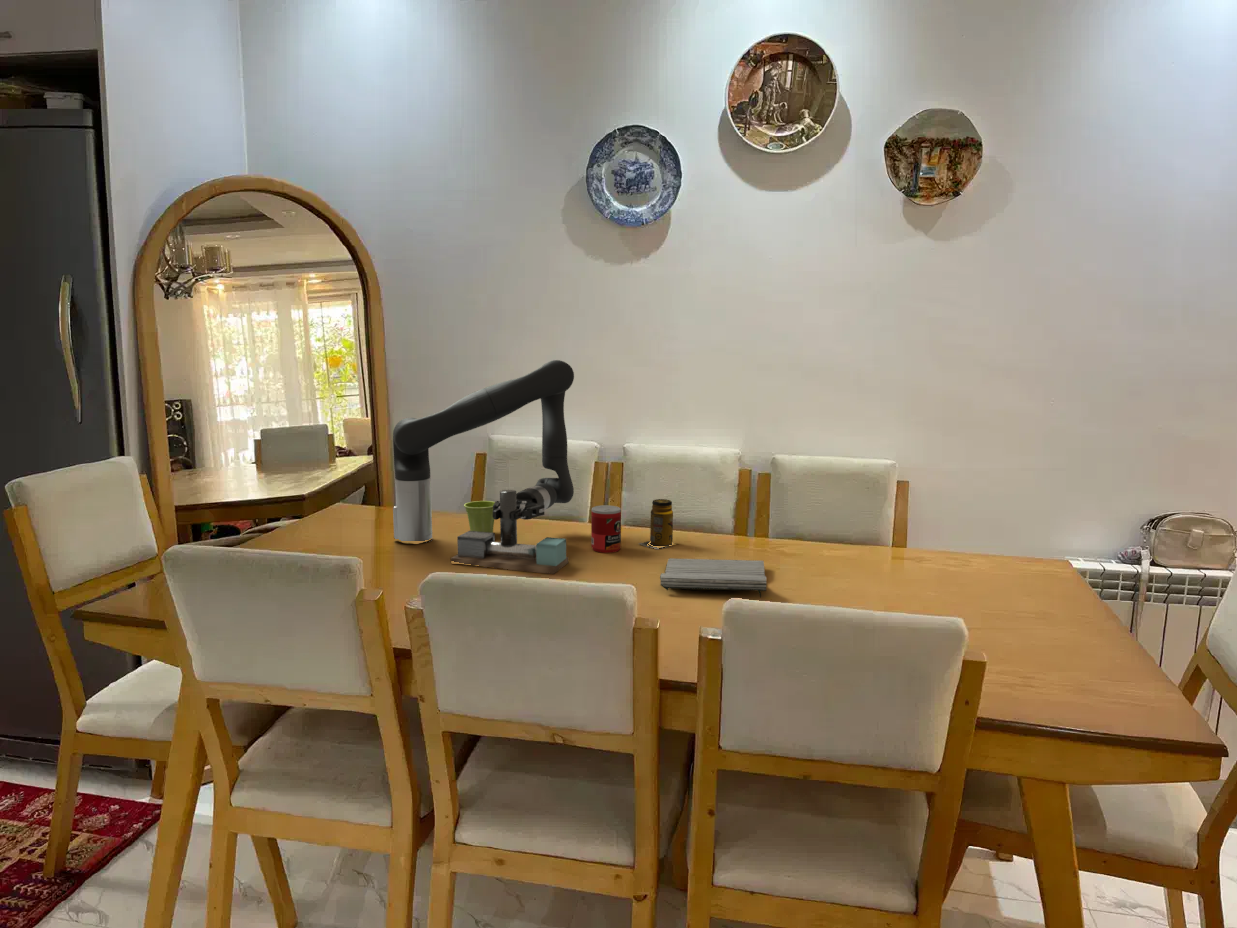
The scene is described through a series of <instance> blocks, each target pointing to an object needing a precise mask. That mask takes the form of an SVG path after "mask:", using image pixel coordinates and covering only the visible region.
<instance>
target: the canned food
mask: <svg viewBox="0 0 1237 928" xmlns="http://www.w3.org/2000/svg"><path fill="white" fill-rule="evenodd" d="M590 515H591V516H590V517H591V521H590V522H591V524H590V526H591V528H590V529H591V531H590V532H591V533H590V534H591V536H590V537H591V550H592V551H594V552H596V553H604V554H610V553H611V554H612V553H617V552H619V551H620V550H621V547H622V546H621V545H622V544H621V542H622V541H621V540H622V508H621V507H619V506H617V505H606V504H605V505H604V504H603V505H596V506H593V507H592V508H591V514H590Z"/></svg>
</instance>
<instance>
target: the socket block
mask: <svg viewBox="0 0 1237 928" xmlns="http://www.w3.org/2000/svg"><path fill="white" fill-rule="evenodd" d="M535 545H536V561H537V564H539V565H550V566H557V565H558V564H560V563H561V562H562V561H564V560H565V559H566V557H567V538H564V537H563V538H561V537H548V536H546V537H544V538H543V539H541V540H540V541H539V542H537V543H536V544H535Z"/></svg>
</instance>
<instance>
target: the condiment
mask: <svg viewBox="0 0 1237 928" xmlns="http://www.w3.org/2000/svg"><path fill="white" fill-rule="evenodd" d="M672 505H673V502H672V501H671V500H670V499H666V498H658V499H653V500H652V506H651V510H650V524H649V525H650V529H649V530H650V533H649V534H650V535H649V537H650V540H649V541H647V540H646V541H644V542H639V543H638V545H641V546H644V547H647V548H649V547H650V548H652V549H653V548H654V549H655V550H660V549H659V548H657V547H653V546H669V545H672V542H673V538H674V537H673V535H674V534H673V533H674V532H673V530H674V528H673V527H674V511H673V506H672ZM650 541H651V543H650V544H651V545H653V546H651V545H649V544H648V543H649V542H650ZM647 544H648V545H649V546H647ZM650 548H649V549H650ZM661 548H662V549H664V548H663V547H661ZM654 549H653V550H654Z"/></svg>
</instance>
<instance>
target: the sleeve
mask: <svg viewBox="0 0 1237 928" xmlns="http://www.w3.org/2000/svg"><path fill="white" fill-rule="evenodd" d="M495 534H496V533H495V532H493V533H490V532H478V531H470V530H467V531H466V532H464V533H462V534H460V535H457V554H458V557H469V558H479V559H484V558H485V541H493V542H496V541H495V539H496V536H495Z"/></svg>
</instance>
